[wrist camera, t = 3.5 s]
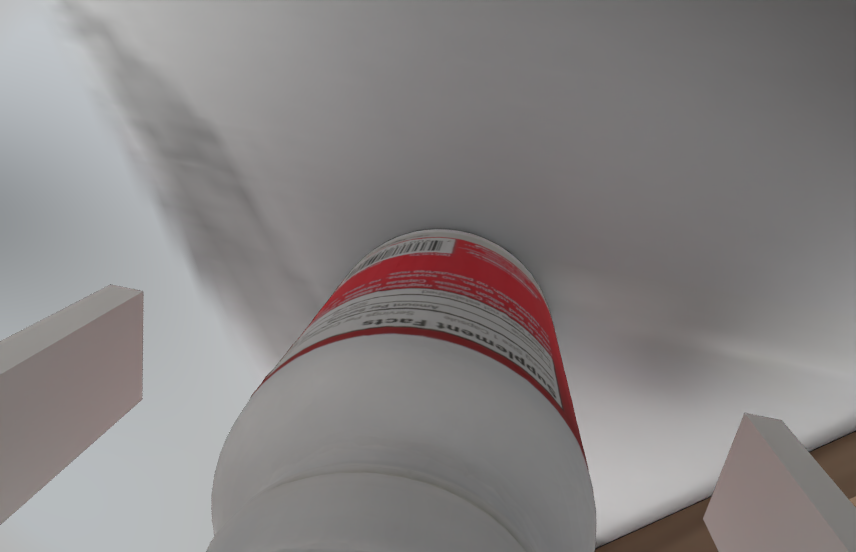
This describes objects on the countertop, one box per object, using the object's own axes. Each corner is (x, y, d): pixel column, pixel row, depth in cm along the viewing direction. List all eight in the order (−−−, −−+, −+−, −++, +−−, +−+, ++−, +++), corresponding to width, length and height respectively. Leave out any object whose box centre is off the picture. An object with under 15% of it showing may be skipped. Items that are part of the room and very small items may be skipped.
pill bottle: (472, 458, 18) (437, 968, 8) (301, 352, 18) (14, 742, 7) (598, 301, 16) (782, 700, 6) (408, 178, 16) (230, 365, 5)
